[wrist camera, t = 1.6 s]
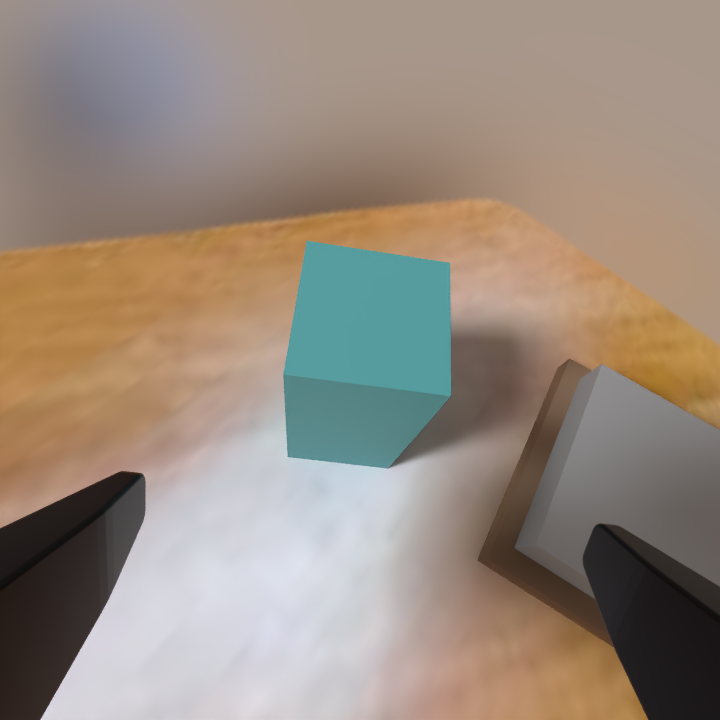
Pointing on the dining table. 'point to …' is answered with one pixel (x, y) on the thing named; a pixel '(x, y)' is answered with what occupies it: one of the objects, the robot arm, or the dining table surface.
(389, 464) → the teal block
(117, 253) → the dining table surface
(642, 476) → the grey slab
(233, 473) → the dining table surface
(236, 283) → the dining table surface
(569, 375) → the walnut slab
